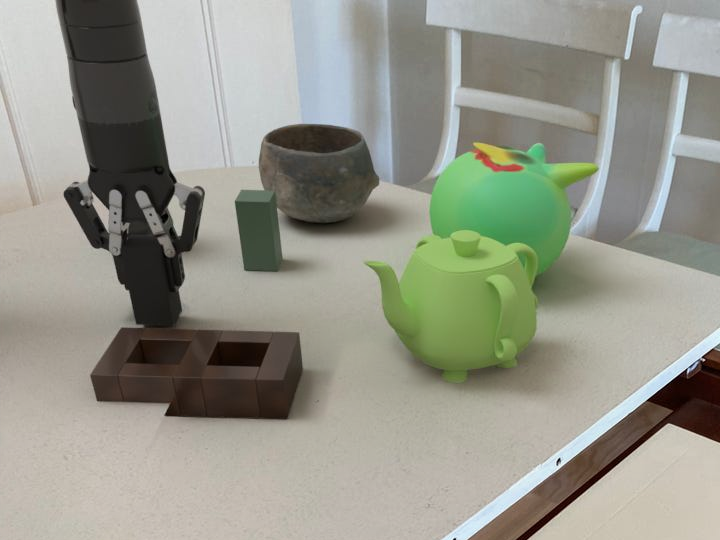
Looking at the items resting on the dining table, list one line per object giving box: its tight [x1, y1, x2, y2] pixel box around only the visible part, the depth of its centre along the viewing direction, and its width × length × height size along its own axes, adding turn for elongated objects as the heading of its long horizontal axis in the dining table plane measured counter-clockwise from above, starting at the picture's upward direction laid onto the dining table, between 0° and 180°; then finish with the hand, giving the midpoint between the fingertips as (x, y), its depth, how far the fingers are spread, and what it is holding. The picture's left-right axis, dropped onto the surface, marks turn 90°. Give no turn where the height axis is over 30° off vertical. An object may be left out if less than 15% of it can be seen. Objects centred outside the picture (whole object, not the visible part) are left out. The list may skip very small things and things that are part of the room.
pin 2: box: [234, 189, 283, 272], centre depth 115 cm, size 4×4×8 cm
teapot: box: [362, 230, 539, 384], centre depth 96 cm, size 16×14×13 cm
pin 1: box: [120, 235, 183, 327], centre depth 102 cm, size 4×4×8 cm
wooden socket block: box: [89, 326, 304, 420], centre depth 93 cm, size 18×10×4 cm, turn 89°
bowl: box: [258, 123, 380, 224], centre depth 127 cm, size 14×15×10 cm
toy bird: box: [429, 141, 600, 277], centre depth 113 cm, size 18×17×15 cm
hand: (153, 287), depth 103 cm, fingers closed on pin 1, 4 cm apart
